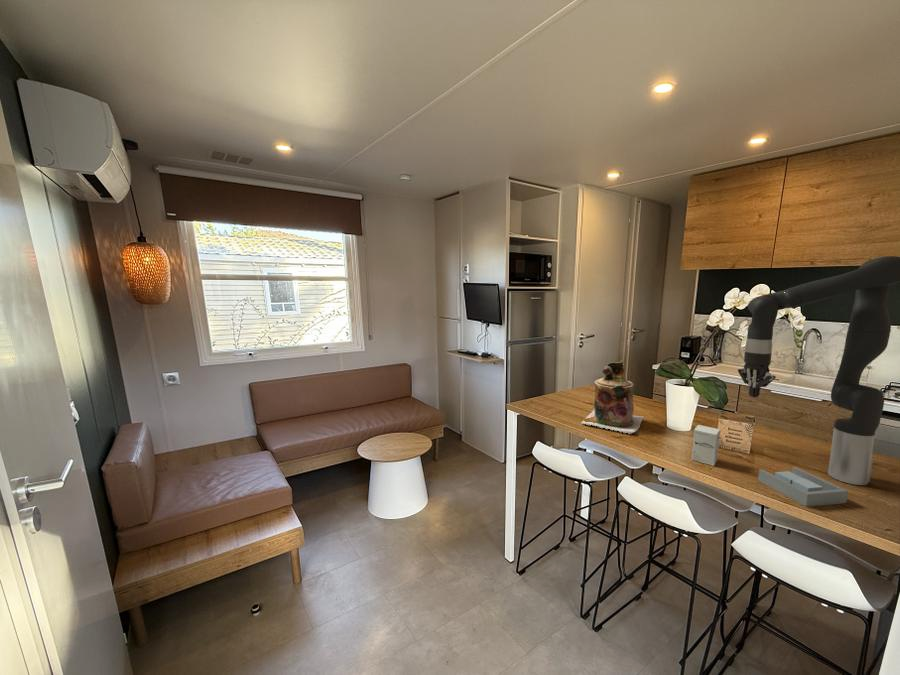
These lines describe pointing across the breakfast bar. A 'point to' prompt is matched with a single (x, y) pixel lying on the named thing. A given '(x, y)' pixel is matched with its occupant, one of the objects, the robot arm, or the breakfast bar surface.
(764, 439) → the breakfast bar surface
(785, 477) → the tile
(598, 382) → the cookie jar
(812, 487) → the tile
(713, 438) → the supplement box
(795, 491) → the tray
